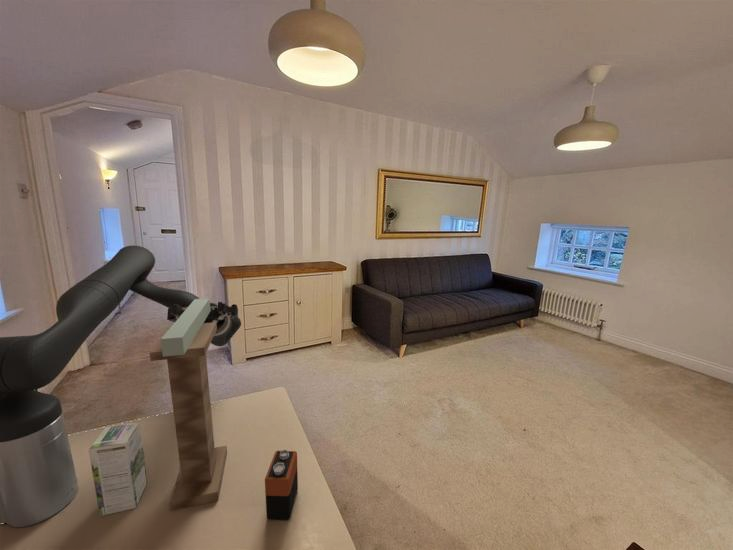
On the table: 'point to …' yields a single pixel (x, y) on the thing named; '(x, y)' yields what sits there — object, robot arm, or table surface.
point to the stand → (194, 423)
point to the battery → (281, 485)
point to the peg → (185, 328)
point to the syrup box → (118, 468)
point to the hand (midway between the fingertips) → (197, 307)
